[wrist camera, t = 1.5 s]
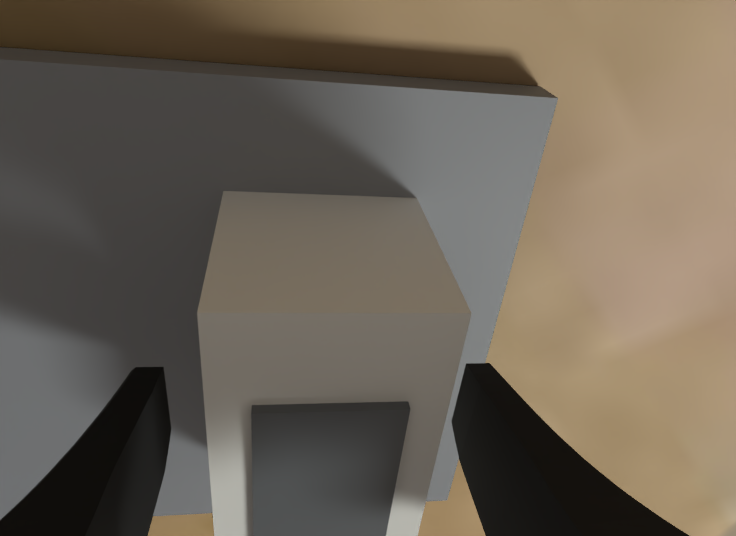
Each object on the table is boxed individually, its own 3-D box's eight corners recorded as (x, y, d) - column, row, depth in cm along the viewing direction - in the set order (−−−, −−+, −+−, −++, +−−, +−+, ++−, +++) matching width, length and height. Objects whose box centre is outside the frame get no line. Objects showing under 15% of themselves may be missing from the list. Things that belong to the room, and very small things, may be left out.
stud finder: (376, 455, 18) (402, 609, 14) (234, 460, 17) (220, 625, 13) (417, 197, 13) (475, 320, 9) (223, 191, 12) (195, 320, 8)
